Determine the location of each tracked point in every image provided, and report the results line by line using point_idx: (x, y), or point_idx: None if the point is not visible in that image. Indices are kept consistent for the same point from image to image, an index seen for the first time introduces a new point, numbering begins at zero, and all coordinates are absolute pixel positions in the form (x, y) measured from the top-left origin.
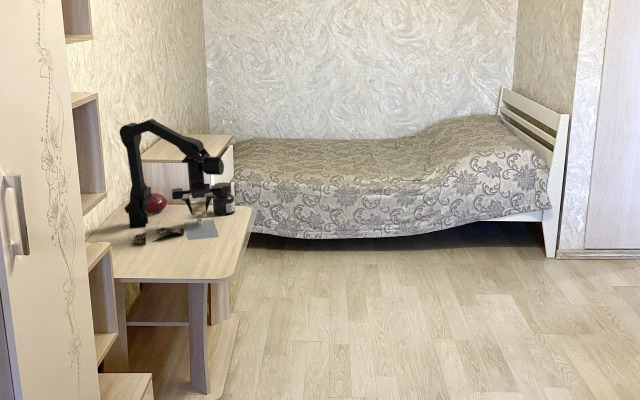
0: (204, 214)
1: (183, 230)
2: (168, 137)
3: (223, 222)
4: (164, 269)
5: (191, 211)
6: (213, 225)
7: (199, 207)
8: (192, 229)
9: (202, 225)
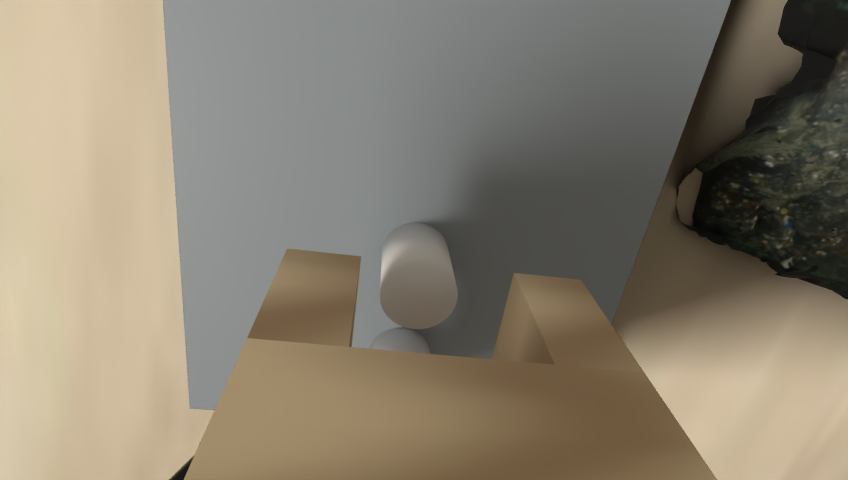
0: (315, 291)
1: (792, 23)
2: None
3: (75, 357)
4: None
5: None
6: (204, 151)
7: (451, 473)
8: (589, 93)
9: (384, 227)
